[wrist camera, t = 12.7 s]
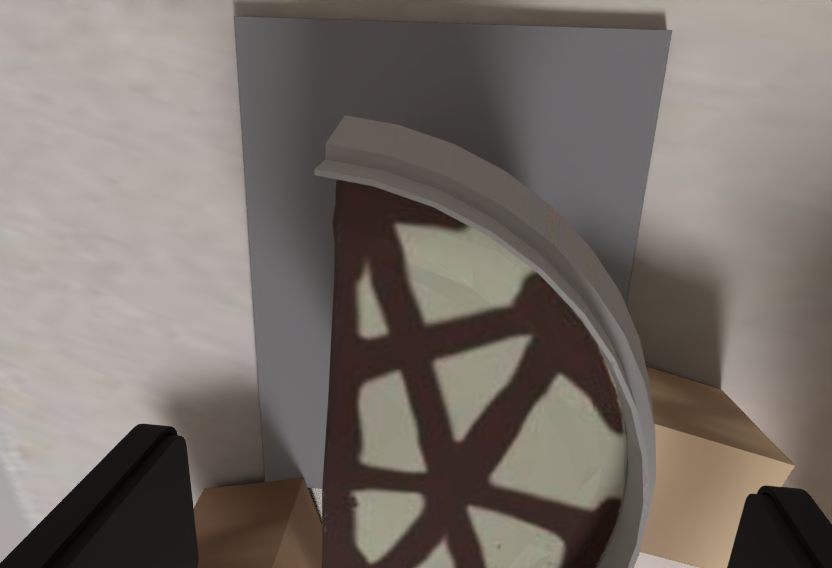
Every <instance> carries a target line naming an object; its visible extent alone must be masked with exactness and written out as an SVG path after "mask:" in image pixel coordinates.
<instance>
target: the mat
mask: <svg viewBox="0 0 832 568" xmlns="http://www.w3.org/2000/svg"><path fill="white" fill-rule="evenodd" d="M234 22H235V37H236V52H237V67H238V82H239V98H240V113H241V128H242V143H243V158H244V173H245V188H246V203H247V218H248V233H249V248H250V264H251V279H252V294H253V309H254V324H255V339H256V354H257V369H258V384H259V399H260V414H261V430H262V445H263V460H264V475H265V482H270V481H279V480H288V479H297V478H304V480H305V483H306V485H307V487H308V488H320V489H322V484H323V469H324V453H325V438H326V423H327V408H328V393H329V372H330V351H331V330H332V310H333V289H334V258H335V241H334V233H333V224H332V222H333V216H334V209H335V203H336V182H337V179H332V178H327V177H322V176H316V175H314V174H315V168H316V167H317V166H319V165H320V164H321V163H322V162H323V161H324V160H325V159H326V142H327V141H328V139H329V138H330V137H331V135H332V134H333V132H334V131H335V129H336V128H337V126H338V125H339V123H340V122H341V121H342V119H343V118H344V116H345V115H346V116H352V117H358V118H363V119H369V120H374V121H380V122H385V123H391V124H397V125H400V126H403V127H406V128H409V129H412V130H415V131H418V132H421V133H424V134H426V135H429V136H432V137H435V138H438V139H441V140H444V141H447V142H450V143H453V144H455V145H457V146H459V147H461V148H463V149H465V150H467V151H468V152H470V153H472V154H474V155H476V156H478V157H480V158H482V159H483V160H485V161H487V162H489V163H491V164H493V165H495V166H497V167H498V168H500V169H502V170H504V171H506V172H508V173H509V174H510V175H512V176H513V177H514V178H516V179H517V180H518V181H519V182H521V183H522V184H523V185H525V186H526V187H527V188H529V189H530V190H531V191H533V192H534V193H535V194H536V195H538V196H539V197H540V198H542V199H543V200H544V201H546V202H547V203H548V204H550V205H551V206H552V207H553V208H554V209H555V210H556V211H557V212H558V213H559V214H560V215H561V216H562V217H563V218H564V219H565V220H566V221H567V223H568V224H569V225H570V226H571V227H572V228H573V229H574V230H575V231H576V232H577V233H578V234H579V235H580V236H581V237H582V239H583V240H584V241H585V242H586V243H587V244H588V245H589V246H590V247H591V248H592V250H593V251H594V253H595V254H596V256H597V257H598V259H599V260H600V262H601V264H602V265H603V267H604V268H605V270H606V271H607V273H608V274H609V276H610V277H611V279H612V280H613V282H614V283H615V285H616V286H617V288H618V289H619V291H620V293H621V295H622V297H623V300H624V302H625V305H626V302H627V296H628V290H629V284H630V278H631V272H632V266H633V260H634V254H635V248H636V242H637V236H638V231H639V225H640V219H641V213H642V207H643V201H644V195H645V189H646V183H647V177H648V171H649V165H650V159H651V153H652V147H653V141H654V136H655V130H656V124H657V118H658V112H659V106H660V100H661V94H662V88H663V82H664V76H665V70H666V64H667V58H668V52H669V46H670V41H671V35H672V30H645V29H614V28H583V27H552V26H520V25H489V24H458V23H427V22H395V21H364V20H333V19H302V18H270V17H239V16H234Z"/></svg>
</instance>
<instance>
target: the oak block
mask: <svg viewBox="0 0 832 568" xmlns="http://www.w3.org/2000/svg"><path fill="white" fill-rule="evenodd" d="M646 369H647V373H648V378H649V382H650V389H651V398H652V407H653V415H654V424H655V442H656V482H655V487H654V493H653V498H652V504H651V509H650V515H649V521H648V524H647V526H646V529H645V532H644V536H643V542H642V547H641V550H640V552H643V553H647V554H650V555H654V556H658V557H662V558H666V559H669V560H673V561H677V562H681V563H684V564H688V565H692V566H696V567H700V568H727V566H728V563H729V559H730V555H731V552H732V548H733V544H734V540H735V537H736V533H737V529H738V526H739V522H740V518H741V515H742V511H743V507H744V503H745V500H746V498H747V496H748V495H749V494H757V492H758V490H759V489H760V488H761V486H765V485H766V486H776V487H781V486H782V485H783V483H784V482H785V480H786V479H787V477H788V476H789V474H790V473H791V472H792V470H793V469H794V467H795V465H794V464H793V463H792V462H791V461H790V460H789V459H788V458H787V457H786V456H785V455H784V454H783V453H782V452H781V451H780V449H779V448H778V447H777V446H776V445H775V444H774V443H773V442H772V441H771V440H770V439H769V438H768V437H767V436H766V435H765V434H764V433H763V432H762V431H761V430H760V429H759V428H758V427H757V426H756V425H755V424H754V423H753V422H752V421H751V420H750V419H749V417H748V416H747V415H746V414H745V413H744V412H743V411H742V410H741V409H740V408H739V407H738V406H737V405H736V404H735V403H734V402H733V401H732V400H731V399H730V398H729V397H728V396H727V395H726V394H725V393H724V392H723V391H722V390H721V389H718V388H714V387H711V386H708V385H705V384H702V383H698V382H695V381H692V380H689V379H686V378H682V377H679V376H676V375H673V374H670V373H666V372H663V371H660V370H657V369H654V368H650V367H647V366H646Z"/></svg>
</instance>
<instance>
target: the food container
mask: <svg viewBox="0 0 832 568" xmlns="http://www.w3.org/2000/svg"><path fill="white" fill-rule="evenodd" d="M314 175H316V176H322V177H327V178H332V179H337V182H336V203H335V209H334V216H333V222H332V224H333V233H334V241H335V258H334V289H333V310H332V330H331V351H330V372H329V393H328V408H327V423H326V438H325V453H324V469H323V484H322V522H323V538H322V568H634V565H635V563H636V560H637V558H638V555H639V552H640V550H641V547H642V542H643V536H644V532H645V529H646V526H647V524H648V521H649V515H650V509H651V504H652V498H653V493H654V487H655V482H656V442H655V424H654V415H653V407H652V398H651V389H650V382H649V378H648V373H647V369H646V364H645V360H644V355H643V351H642V346H641V342H640V337H639V335H638V333H637V330H636V328H635V326H634V323H633V321H632V319H631V316H630V314H629V312H628V309H627V307H626V305H625V302H624V300H623V297H622V295H621V293H620V291H619V289H618V288H617V286H616V285H615V283H614V282H613V280H612V279H611V277H610V276H609V274H608V273H607V271H606V270H605V268H604V267H603V265H602V264H601V262H600V260H599V259H598V257H597V256H596V254H595V253H594V251H593V250H592V248H591V247H590V246H589V245H588V244H587V243H586V242H585V241H584V240H583V239H582V237H581V236H580V235H579V234H578V233H577V232H576V231H575V230H574V229H573V228H572V227H571V226H570V225H569V224H568V223H567V221H566V220H565V219H564V218H563V217H562V216H561V215H560V214H559V213H558V212H557V211H556V210H555V209H554V208H553V207H552V206H551V205H550V204H548V203H547V202H546V201H544V200H543V199H542V198H540V197H539V196H538V195H536V194H535V193H534V192H533V191H531V190H530V189H529V188H527V187H526V186H525V185H523V184H522V183H521V182H519V181H518V180H517V179H516V178H514V177H513V176H512V175H510V174H509V173H508V172H506V171H504V170H502V169H500V168H498V167H497V166H495V165H493V164H491V163H489V162H487V161H485V160H483V159H482V158H480V157H478V156H476V155H474V154H472V153H470V152H468V151H467V150H465V149H463V148H461V147H459V146H457V145H455V144H453V143H450V142H447V141H444V140H441V139H438V138H435V137H432V136H429V135H426V134H424V133H421V132H418V131H415V130H412V129H409V128H406V127H403V126H400V125H397V124H391V123H385V122H380V121H374V120H369V119H363V118H358V117H352V116H346V115H345V116H344V118H343V119H342V121H341V122H340V123H339V125H338V126H337V128H336V129H335V131H334V132H333V134H332V135H331V137H330V138H329V139H328V141H327V142H326V159H325V160H324V161H323V162H322V163H321V164H320V165H319V166H317V167H316V168H315V174H314Z"/></svg>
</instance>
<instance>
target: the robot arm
mask: <svg viewBox="0 0 832 568" xmlns="http://www.w3.org/2000/svg"><path fill="white" fill-rule="evenodd" d="M198 562H199V554H198V545H197V536H196V527H195V518H194V509H193V501H192V492H191V483H190V474H189V465H188V456H187V447H186V441H185V439H184V437H182V436H178V435H177V431H176V430H175V428H173V427H171V426H161V425H150V424H138V425H137V426H136V427H134V428H133V429H132V430H131V431H130V432H129V433H128V434H127V435H126V436H125V437H124V438H123V439H122V440H121V441H120V442H119V443H118V444H117V445H116V446H115V447H114V448H113V449H112V450H111V451H110V452H109V453H108V454H107V456H106V457H105V458H104V459H103V460H102V461H101V462H100V463H99V464H98V465H97V466H96V467H95V468H94V469H93V470H92V471H91V472H90V473H89V474H88V475H87V476H86V477H85V478H84V479H83V480H82V481H81V482H80V483H79V484H78V485H77V486H76V487H75V488H74V489H73V490H72V491H71V492H70V493H69V494H68V495H67V496H66V497H65V498H64V499H63V500H62V501H61V502H60V503H59V504H58V505H57V506H56V507H55V508H54V509H53V510H52V511H51V512H50V513H49V514H48V515H47V516H46V517H45V518H44V519H43V520H42V521H41V522H40V523H39V524H38V525H37V526H36V527H35V528H34V529H33V530H32V531H31V532H30V533H29V535H28V536H27V537H26V538H25V539H24V540H23V541H22V542H21V543H20V544H19V545H18V546H17V547H16V548H15V549H14V550H13V551H12V552H11V553H10V554H9V555H8V556H7V557H6V558H5V559H4V560H3V561H2V562H1V563H0V568H198ZM727 568H832V524H831V523H830V522H829V520H828V519H827V518H826V516H825V515H824V514H823V512H822V511H821V510H820V508H819V507H818V506H817V504H816V503H815V501H814V500H813V499H812V497H811V496H810V495H809V494H808V493H807V492H806V491H805V490H802V489H797V488H787V487H776V486H766V485H765V486H761V488H760V489H759V490H758V492H757V494H749V495H748V496H747V498H746V500H745V503H744V507H743V511H742V515H741V518H740V522H739V526H738V529H737V533H736V537H735V540H734V544H733V548H732V552H731V555H730V559H729V563H728V566H727Z"/></svg>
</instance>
